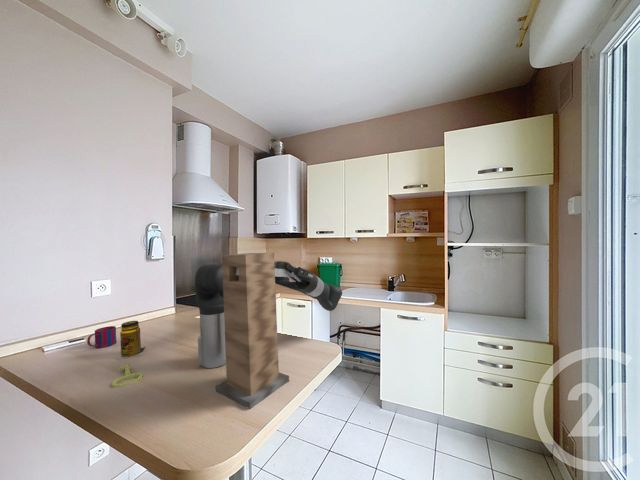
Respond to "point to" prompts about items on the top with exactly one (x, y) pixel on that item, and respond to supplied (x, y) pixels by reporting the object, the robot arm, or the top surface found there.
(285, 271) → the pin
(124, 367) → the yellow-green flat looped piece
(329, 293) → the robot arm
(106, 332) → the mug
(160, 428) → the top surface
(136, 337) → the condiment
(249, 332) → the post
